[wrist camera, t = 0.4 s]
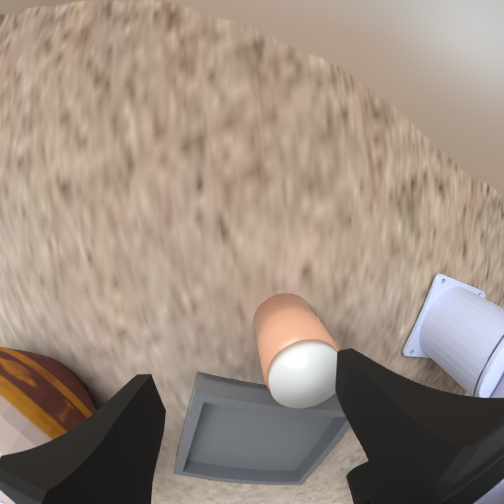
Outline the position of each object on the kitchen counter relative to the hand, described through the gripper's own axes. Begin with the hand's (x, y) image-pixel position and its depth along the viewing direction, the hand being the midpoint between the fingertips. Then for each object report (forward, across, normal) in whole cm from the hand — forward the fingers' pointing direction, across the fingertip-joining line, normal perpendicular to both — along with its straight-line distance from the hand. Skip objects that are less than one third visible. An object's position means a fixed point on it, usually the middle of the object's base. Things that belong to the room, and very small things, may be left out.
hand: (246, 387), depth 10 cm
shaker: (+10, -3, +2) cm, 10 cm away
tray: (+10, 0, +15) cm, 18 cm away
